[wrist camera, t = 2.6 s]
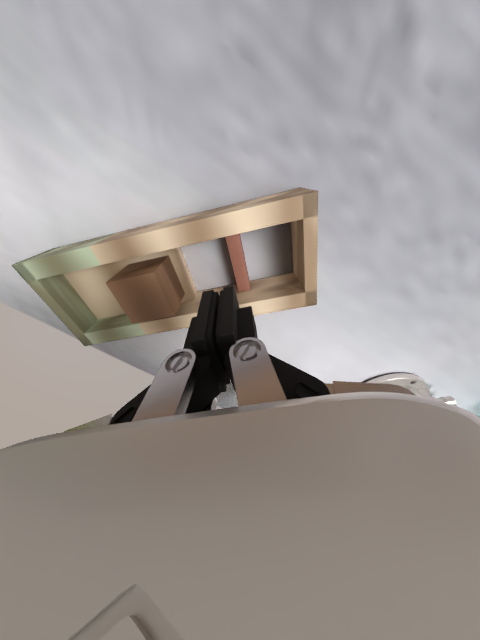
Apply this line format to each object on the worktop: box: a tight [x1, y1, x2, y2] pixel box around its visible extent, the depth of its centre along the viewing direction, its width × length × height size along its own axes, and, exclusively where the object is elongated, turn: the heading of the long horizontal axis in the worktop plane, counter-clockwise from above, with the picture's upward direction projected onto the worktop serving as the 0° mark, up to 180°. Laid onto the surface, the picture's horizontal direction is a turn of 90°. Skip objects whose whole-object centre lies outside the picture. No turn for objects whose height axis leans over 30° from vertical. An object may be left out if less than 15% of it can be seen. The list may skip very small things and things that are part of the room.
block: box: [106, 255, 185, 324], centre depth 18 cm, size 4×4×4 cm
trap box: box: [11, 188, 318, 346], centre depth 19 cm, size 24×9×4 cm, turn 102°
